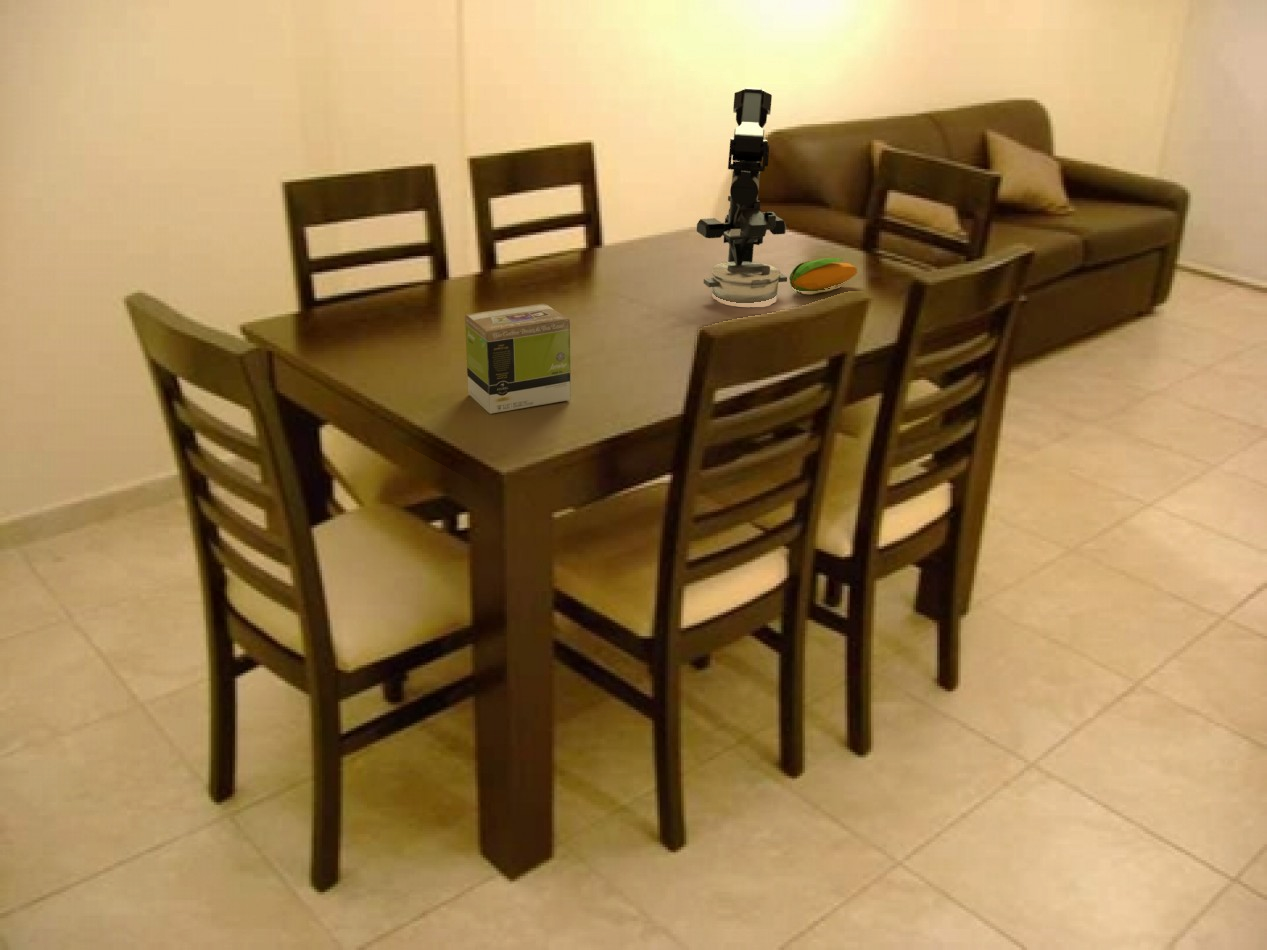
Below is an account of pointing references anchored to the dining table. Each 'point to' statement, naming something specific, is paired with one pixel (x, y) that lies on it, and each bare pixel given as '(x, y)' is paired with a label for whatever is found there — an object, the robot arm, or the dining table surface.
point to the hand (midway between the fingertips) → (738, 265)
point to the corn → (821, 274)
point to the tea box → (518, 357)
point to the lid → (746, 273)
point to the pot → (743, 290)
